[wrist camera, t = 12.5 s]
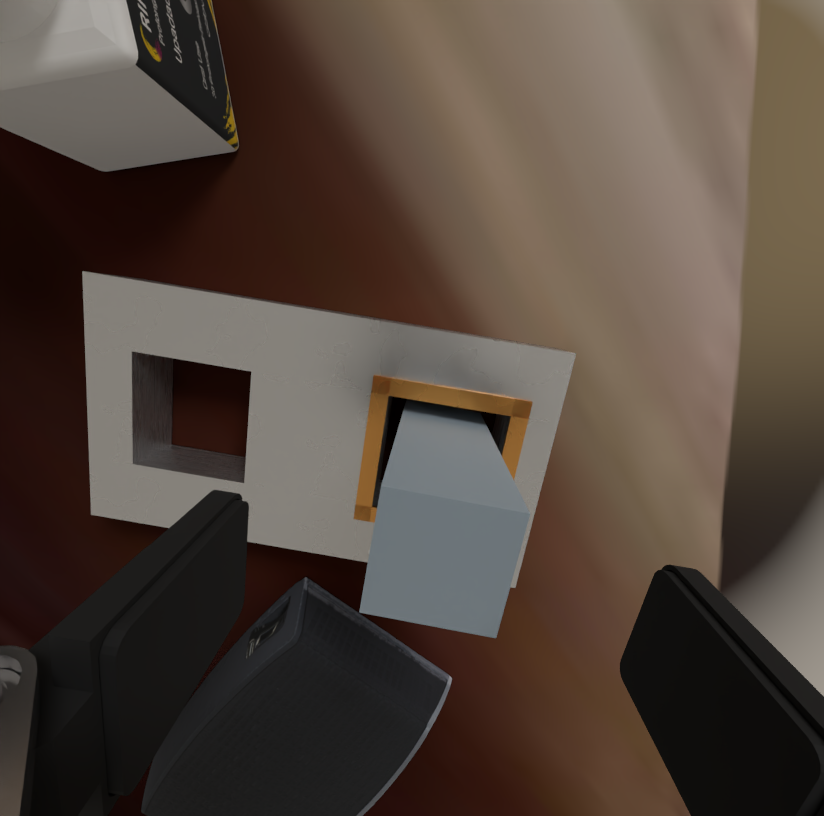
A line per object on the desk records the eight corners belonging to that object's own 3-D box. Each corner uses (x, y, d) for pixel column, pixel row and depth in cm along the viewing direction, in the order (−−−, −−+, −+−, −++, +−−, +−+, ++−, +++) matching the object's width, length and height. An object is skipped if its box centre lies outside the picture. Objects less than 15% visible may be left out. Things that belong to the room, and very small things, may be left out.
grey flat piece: (132, 277, 20) (78, 270, 17) (554, 347, 20) (577, 353, 17) (134, 489, 23) (87, 516, 20) (504, 553, 23) (516, 590, 20)
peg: (406, 399, 21) (380, 486, 10) (480, 412, 21) (530, 513, 10) (394, 467, 22) (359, 612, 11) (464, 480, 22) (495, 638, 11)
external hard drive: (462, 676, 26) (467, 743, 22) (297, 833, 30) (276, 913, 26) (299, 563, 24) (273, 612, 20) (149, 743, 28) (103, 813, 24)
